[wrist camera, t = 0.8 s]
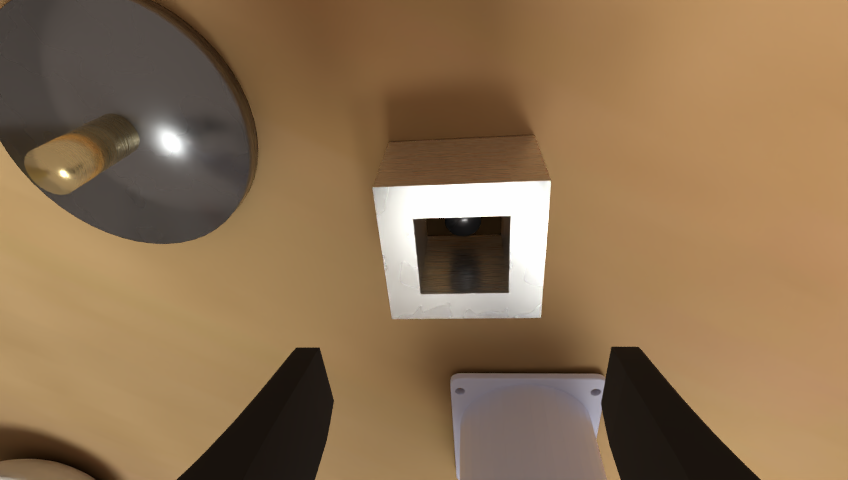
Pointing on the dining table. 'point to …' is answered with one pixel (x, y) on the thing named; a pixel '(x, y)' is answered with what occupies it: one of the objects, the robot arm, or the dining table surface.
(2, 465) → the spoon rest
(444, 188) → the collar
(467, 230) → the stand stub
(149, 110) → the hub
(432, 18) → the dining table surface
